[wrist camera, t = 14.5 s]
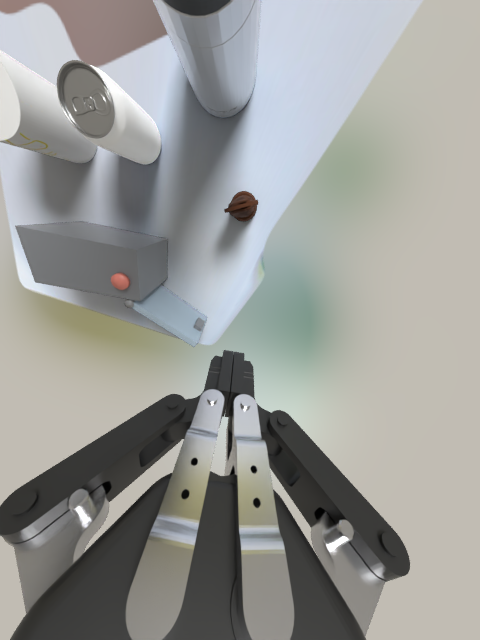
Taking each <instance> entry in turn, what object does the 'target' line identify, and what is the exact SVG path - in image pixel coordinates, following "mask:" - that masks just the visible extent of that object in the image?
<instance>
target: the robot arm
mask: <svg viewBox="0 0 480 640" xmlns="http://www.w3.org/2000/svg"><path fill="white" fill-rule="evenodd" d="M153 2H154V4H155V6H156V8H157V10H158V13H159V15H160V17H161V19H162V22H163V24H164V26H165V28H166V31H167V33H168V35H169V37H170V40H171V42H172V44H173V46H174V48H175V51H176V53H177V55H178V57H179V60H180V62H181V64H182V66H183V69H184V71H185V73H186V75H187V78H188V80H189V82H190V85H191V87H192V89H193V91H194V93H195V96H196V97H197V99H198V101H199V103H200V104H201V105H202V106H203V108H204V109H205V110H206V111H208V112H209V113H210V114H212V115H214V116H216V117H221V118H226V117H231V116H233V115H235V114H237V113H238V112H240V111H241V110H242V109H243V108H244V106H245V105H246V104H247V103H248V101H249V99H250V97H251V95H252V92H253V89H254V85H255V80H256V71H257V57H258V43H259V29H260V14H261V0H153ZM233 353H234V355H233ZM253 378H254V376H253V366H252V364H251V363H250V361H244V353H239V352H233V351H226V350H224V352H223V357H219V356H215V357H214V358H213V359H212V360H211V364H210V368H209V372H208V376H207V380H206V384H205V389H204V391H203V393H202V394H201V395H200V396H198V397H196V398H193V399H187V400H185V399H184V398H183V397H182V396H181V395H177V394H171V395H168V396H166V397H164V398H162V399H161V400H159V401H158V402H156V403H154V404H153V405H151V406H150V407H148V408H146V409H145V410H143V411H142V412H140V413H138V414H137V415H135V416H134V417H132V418H130V419H129V420H127V421H126V422H124V423H122V424H121V425H119V426H118V427H116V428H114V429H113V430H111V431H110V432H108V433H106V434H105V435H103V436H101V437H100V438H98V439H97V440H95V441H93V442H92V443H90V444H89V445H87V446H85V447H84V448H82V449H81V450H79V451H77V452H76V453H74V454H73V455H71V456H69V457H68V458H66V459H65V460H63V461H61V462H60V463H58V464H57V465H55V466H53V467H52V468H50V469H49V470H47V471H45V472H44V473H43V474H41V475H39V476H37V477H36V478H34V479H32V480H31V481H29V482H28V483H26V484H25V485H23V486H21V487H20V488H18V489H17V490H16V491H14V492H13V493H12V494H11V495H10V496H9V497H8V498H7V499H6V500H5V501H4V502H3V503H2V505H1V506H0V536H2V537H3V538H4V540H5V541H6V542H7V543H8V544H9V545H11V546H13V547H14V549H15V555H16V560H17V565H18V571H19V577H20V582H21V587H22V593H23V598H24V604H25V609H26V616H25V617H24V618H23V620H22V621H21V623H20V624H19V626H18V627H17V629H16V631H15V632H14V634H13V636H12V637H11V639H10V640H366V638H365V636H366V633H367V630H368V627H369V625H370V622H371V619H372V617H373V614H374V611H375V608H376V606H377V603H378V600H379V597H380V595H381V592H382V589H383V586H384V584H385V582H387V581H390V580H393V579H395V578H398V577H402V576H405V575H406V574H408V572H409V569H410V561H409V556H408V553H407V550H406V548H405V546H404V544H403V542H402V541H401V539H400V537H399V536H398V535H397V533H396V532H395V531H394V530H393V529H392V528H391V526H390V525H389V524H388V523H387V522H386V521H385V520H384V519H383V518H382V517H381V516H380V514H379V513H378V512H377V511H376V510H375V509H374V508H373V507H372V506H371V505H370V503H369V502H368V501H367V500H366V499H365V498H364V497H363V496H362V495H361V493H360V492H358V490H357V489H356V488H355V487H354V486H353V485H352V484H351V483H350V481H349V480H348V479H347V478H346V477H345V476H344V475H343V474H342V473H341V472H340V470H339V469H338V468H337V467H336V466H335V465H334V464H333V463H332V462H331V461H330V459H329V458H328V457H327V456H326V455H325V454H324V453H323V452H322V451H321V450H320V448H319V447H318V446H317V445H316V444H315V443H314V442H313V441H312V440H311V439H310V437H309V436H308V435H307V434H306V433H305V432H304V431H303V430H302V429H301V428H300V427H299V425H298V424H297V423H296V422H295V421H294V420H293V419H292V418H291V417H290V416H289V415H288V414H287V413H286V412H283V411H281V410H277V411H274V412H272V413H270V412H268V411H266V410H264V409H262V408H261V407H260V406H259V405H258V404H257V403H256V401H255V398H254V379H253ZM225 410H226V411H225ZM224 414H225V417H229V419H228V426H227V432H226V433H227V434H226V467H225V476H219V475H217V474H215V473H213V472H211V471H210V469H211V464H212V459H213V454H214V449H215V444H216V440H217V434H218V429H219V426H220V423H221V419H222V416H224ZM181 439H184V442H183V445H182V447H181V450H180V453H179V456H178V459H177V462H176V464H175V467H174V470H173V473H170V474H168V475H166V476H165V477H163V478H161V479H159V480H158V481H157V482H156V483H154V484H153V485H152V486H151V487H150V488H149V489H148V490H147V491H146V492H145V493H144V494H143V495H142V496H141V497H140V498H139V499H138V500H137V501H136V502H135V503H134V504H133V505H132V506H131V507H130V508H129V509H128V510H127V511H126V512H125V513H124V514H123V515H122V516H121V517H120V518H119V519H118V520H117V521H116V522H115V523H114V524H113V525H112V526H111V527H110V528H109V529H108V530H107V531H106V532H105V533H103V535H102V536H100V537H99V538H98V540H96V541H95V543H94V544H92V545H91V546H90V547H89V548H88V549H87V550H86V552H84V550H85V548H86V546H87V544H88V543H89V541H90V539H91V538H92V537H93V535H94V534H95V533H96V532H97V531H98V530H99V529H100V528H101V526H102V525H103V523H104V522H105V520H106V518H107V515H108V512H109V502H110V501H111V500H112V499H114V498H115V497H116V496H117V495H118V494H119V493H120V492H122V491H123V490H124V489H125V488H126V487H127V486H129V485H130V484H131V483H132V482H133V481H134V480H136V479H137V478H138V477H139V476H140V475H142V474H143V473H144V472H145V471H146V470H147V469H148V468H150V467H151V466H152V465H153V464H154V463H155V462H157V461H158V460H159V459H160V458H161V457H162V456H164V455H165V454H166V453H167V452H168V451H169V450H171V449H172V448H173V447H174V446H175V445H176V444H178V443H179V442H180V441H181ZM270 468H271V470H272V471H273V473H274V474H275V475H276V477H277V478H278V480H279V481H280V483H281V484H282V486H283V487H284V489H285V490H286V492H287V493H288V495H289V496H290V497H291V499H292V500H293V501H294V503H295V505H296V506H297V507H298V509H299V511H300V512H301V513H302V515H303V516H304V518H305V519H306V521H307V522H308V524H309V525H310V527H311V528H312V529H311V540H312V544H313V547H314V549H315V552H316V553H315V552H314V550H313V548H312V547H311V545H310V544H309V542H308V541H307V539H306V537H305V536H304V534H303V532H302V531H301V529H300V527H299V526H298V524H297V523H296V521H295V519H294V518H293V516H292V515H291V513H290V511H289V510H288V508H287V507H286V505H285V503H284V502H283V500H282V499H281V498H280V496H279V495H278V494H277V493H276V492H275V491H274V490H273V487H272V480H271V474H270ZM316 554H317V555H318V557H319V558H318V557H317V555H316ZM319 559H320V560H319Z"/></svg>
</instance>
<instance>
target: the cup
mask: <svg viewBox="0 0 480 640" xmlns="http://www.w3.org/2000/svg"><path fill="white" fill-rule="evenodd" d="M0 142H3V143H6V144H10V145H13V146H17V147H21V148H24V149H28V150H31V151H35V152H39V153H42V154H46V155H49V156H53V157H57V158H60V159H64V160H67V161H71V162H75V163H86V162H88V161H90V160H91V159H92V158H93V157H94V155H95V153H96V150H97V145H95V144H94V143H92V142H91V141H89V140H88V139H87V138H85V137H84V136H83V135H82V133H80V132H79V131H78V130H77V129H76V128H75V127H74V126H73V125H72V124H71V123H70V121H69V120H68V119H67V117H66V115H65V114H64V112H63V110H62V107H61V105H60V102H59V98H58V93H57V87H56V86H55V85H53V84H52V83H50V82H49V81H47V80H46V79H44V78H43V77H41V76H40V75H38V74H36V73H35V72H33V71H32V70H30V69H29V68H27V67H26V66H24V65H23V64H21V63H20V62H18V61H16V60H15V59H13V58H12V57H10V56H9V55H7V54H6V53H4V52H3V51H1V50H0Z"/></svg>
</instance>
